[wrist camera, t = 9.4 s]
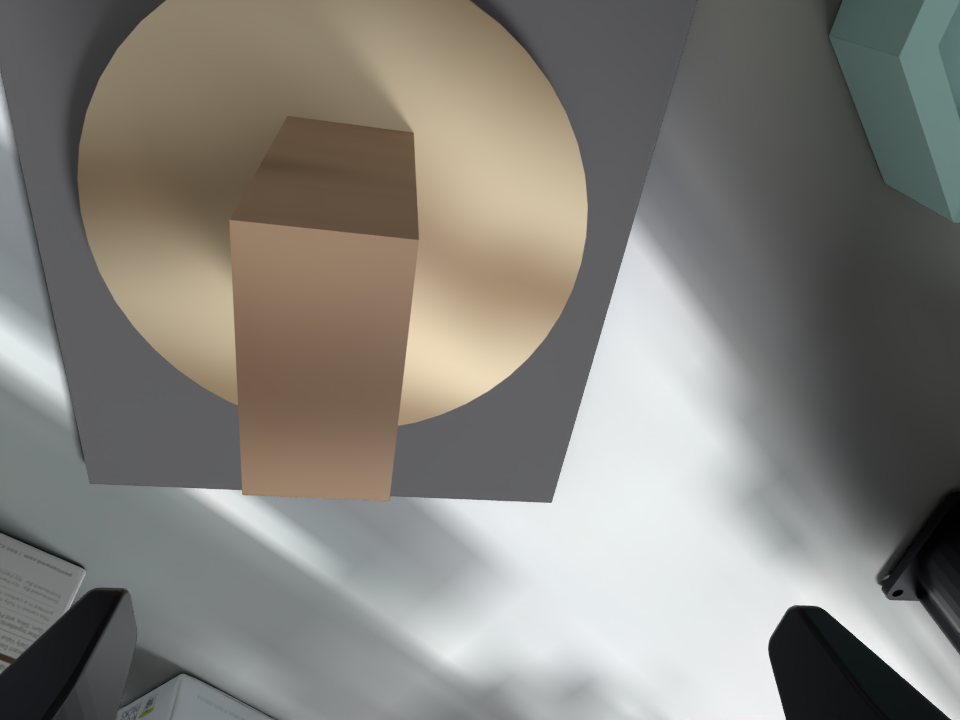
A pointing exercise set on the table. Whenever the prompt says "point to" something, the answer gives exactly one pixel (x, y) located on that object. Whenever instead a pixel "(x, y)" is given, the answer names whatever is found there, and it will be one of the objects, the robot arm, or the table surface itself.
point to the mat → (419, 446)
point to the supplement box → (31, 595)
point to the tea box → (188, 703)
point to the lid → (332, 218)
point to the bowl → (907, 92)
